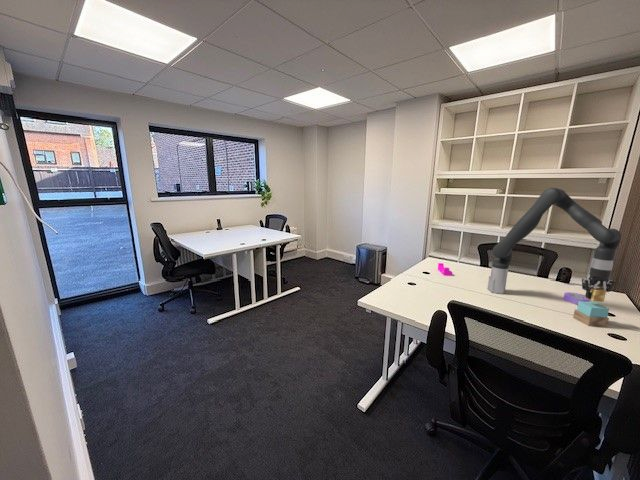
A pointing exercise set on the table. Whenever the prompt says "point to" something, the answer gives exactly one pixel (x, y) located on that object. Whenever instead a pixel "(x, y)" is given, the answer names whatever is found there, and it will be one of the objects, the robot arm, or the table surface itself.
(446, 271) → the magenta irregular piece
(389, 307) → the table surface
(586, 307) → the block
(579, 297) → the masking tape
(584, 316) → the tower base
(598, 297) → the ochre block
